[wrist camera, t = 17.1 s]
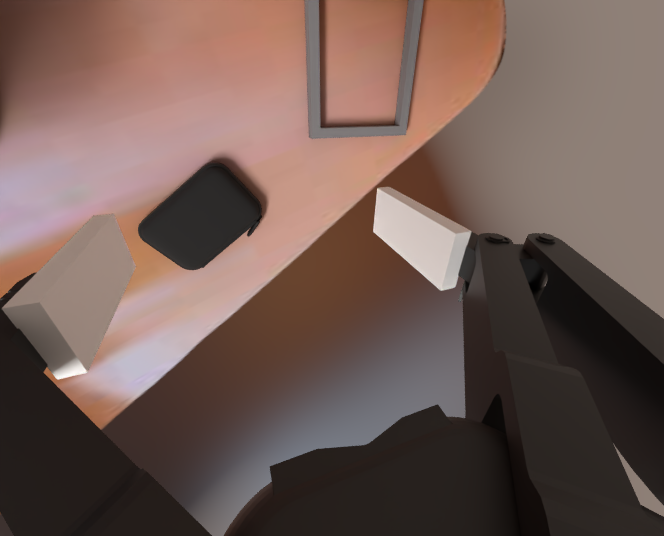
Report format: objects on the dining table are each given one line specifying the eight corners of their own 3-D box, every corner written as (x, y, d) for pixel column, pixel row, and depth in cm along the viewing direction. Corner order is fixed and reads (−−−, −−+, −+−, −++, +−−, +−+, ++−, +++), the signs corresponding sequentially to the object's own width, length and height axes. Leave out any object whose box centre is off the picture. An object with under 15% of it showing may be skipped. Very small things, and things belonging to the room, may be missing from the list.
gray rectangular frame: (308, 137, 39) (311, 138, 37) (303, -32, 30) (307, -37, 29) (400, 133, 43) (405, 135, 42) (418, -15, 34) (426, -19, 33)
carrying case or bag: (199, 273, 44) (271, 212, 43) (198, 284, 41) (274, 219, 40) (133, 226, 37) (215, 153, 36) (127, 236, 35) (215, 157, 34)
